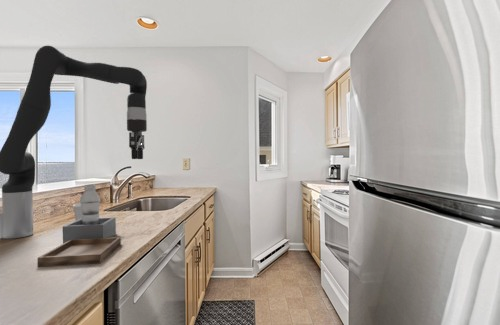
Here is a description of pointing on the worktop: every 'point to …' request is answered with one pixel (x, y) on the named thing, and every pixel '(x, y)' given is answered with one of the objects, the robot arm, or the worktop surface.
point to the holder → (89, 230)
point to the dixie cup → (77, 211)
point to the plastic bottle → (90, 205)
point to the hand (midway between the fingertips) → (137, 159)
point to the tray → (80, 252)
